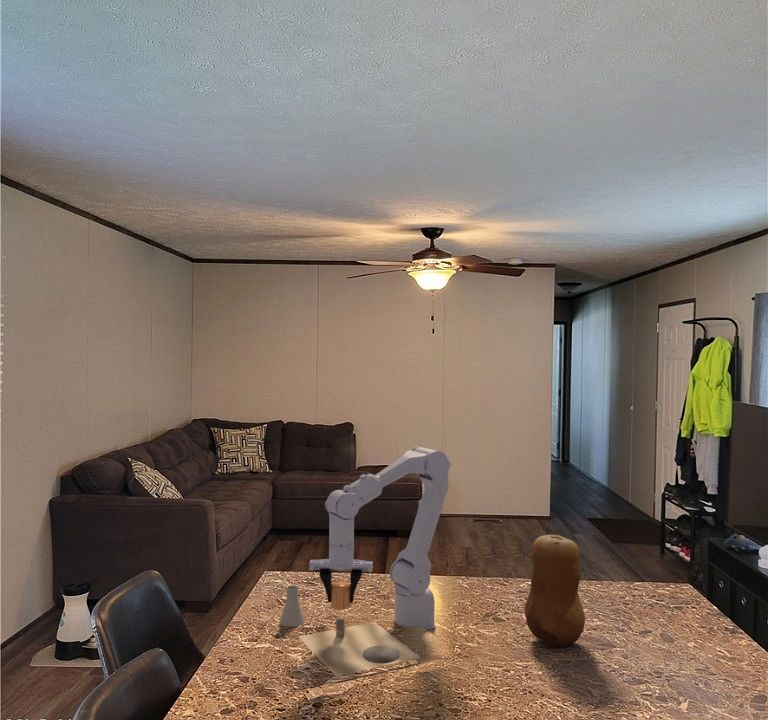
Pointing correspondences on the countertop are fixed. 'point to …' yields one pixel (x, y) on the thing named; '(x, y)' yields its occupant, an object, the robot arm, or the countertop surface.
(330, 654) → the board
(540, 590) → the butternut squash
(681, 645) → the countertop surface
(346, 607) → the orange domed tapered piece
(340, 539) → the robot arm
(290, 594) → the flask
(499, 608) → the countertop surface
